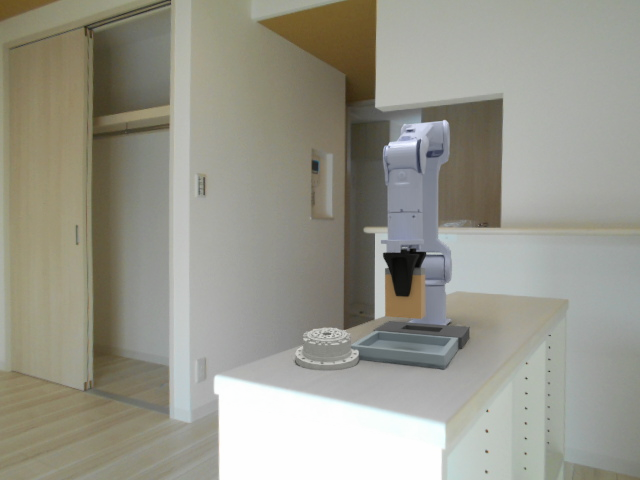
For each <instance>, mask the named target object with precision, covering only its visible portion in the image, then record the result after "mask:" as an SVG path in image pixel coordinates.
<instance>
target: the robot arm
mask: <svg viewBox="0 0 640 480" xmlns="http://www.w3.org/2000/svg"><path fill="white" fill-rule="evenodd" d="M450 130H451V129H450V123H449V122H448V121H447V120H446V119H443V120H441V121H430V122H429V121H428V122H419V123H418V122H417V123H410V124H409V123H403V125H402V126H401V128H400V136H399V137H398V138H397V140H396V141H389V143H388V145H384V147H383V152H382V164H383V170H384V182H385V186H387V239H381V240H380V244H381V245H382V244H383V245H384V244H385V245H386V252H382V258H383V260H384V262H385V263H386V266H387V268H389V271H390V274H391V277H392V282H393V286H394V291H395V294H396V296H403V297H409V295H410V291H411V284H412V276H413V271H414V268H425V317H423V318H422V319H415V318H411V320H409V321H408V322H410V323H423V324H436V325H448V324H449V323H450V322H451V318H447V291H446V284H447V283H448V284H449V283H450V282H451V281H452V277H453V276H452V275H453V263H452V261H453V259H452V250H451V249H450V247H449V246H448V244H445V243H444V242H442V240H440V239H439V177H440V176H439V175H440V170H441V166H442V165H443V164H445V163H447V162H448V161H449V158H450V152H451V151H450V145H451V133H450V132H451V131H450ZM428 253H436V254H428ZM438 253H439V254H438ZM440 253H441V254H440Z"/></svg>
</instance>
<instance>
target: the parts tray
mask: <svg viewBox="0 0 640 480" xmlns="http://www.w3.org/2000/svg"><path fill="white" fill-rule="evenodd" d="M351 349H356V350H358V351H359V360H361V361H362V360H363V361H370V362H379V363H387V364H397V365H405V366H413V367H421V368H432V369H440V370H445V369H446V368H447V366H448V365H449V363H450V362H451V361H452V360H453V358H454V356H455V355H456V354H457V352H458V351H459V349H458V338H456V337H444V336H432V335H421V334H409V333H397V332H386V331H374V332H373V331H372V332H370V333H369V334H366V335H365V336H363V337H362V338H360V339H358V340H357V341H355V342H353V343H351Z"/></svg>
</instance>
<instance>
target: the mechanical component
mask: <svg viewBox="0 0 640 480" xmlns="http://www.w3.org/2000/svg"><path fill="white" fill-rule="evenodd" d="M351 334H352V333H348V332H347V330H346V329H339V328H338V327H322V328H313V329H312V330H310V331H305V332H304V333H303V335H302V346H300V347H299V348H297V349H296V350H295V358H294V359H295V362H296V364H297V365H298V366H299V365H300V367H301V366H302V368H304V367H305V369H308V368H309V370H315V369H316V371H337V370H343V369H349V368H352V367H355V366H356V365H357V364H358V363H359V362H360V361H359V360H360V359H359V351H358V350H356V349H351V344H352V336H351Z"/></svg>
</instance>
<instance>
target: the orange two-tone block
mask: <svg viewBox="0 0 640 480" xmlns="http://www.w3.org/2000/svg"><path fill="white" fill-rule="evenodd" d="M384 295H385V296H384V297H385V298H384V301H385V302H384V304H385V305H384V309H385V310H384V314H385V315H384V316H385V317H387V318H388V317H390V318H402V319H412V318H415V319H422V318H423V317H425V268H414V271H413V276H412V284H411V291H410V295H409V297H403V296H396V294H395V291H394V286H393V282H392V277H391V274H390V271H389V268H388V267H385V268H384Z"/></svg>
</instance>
